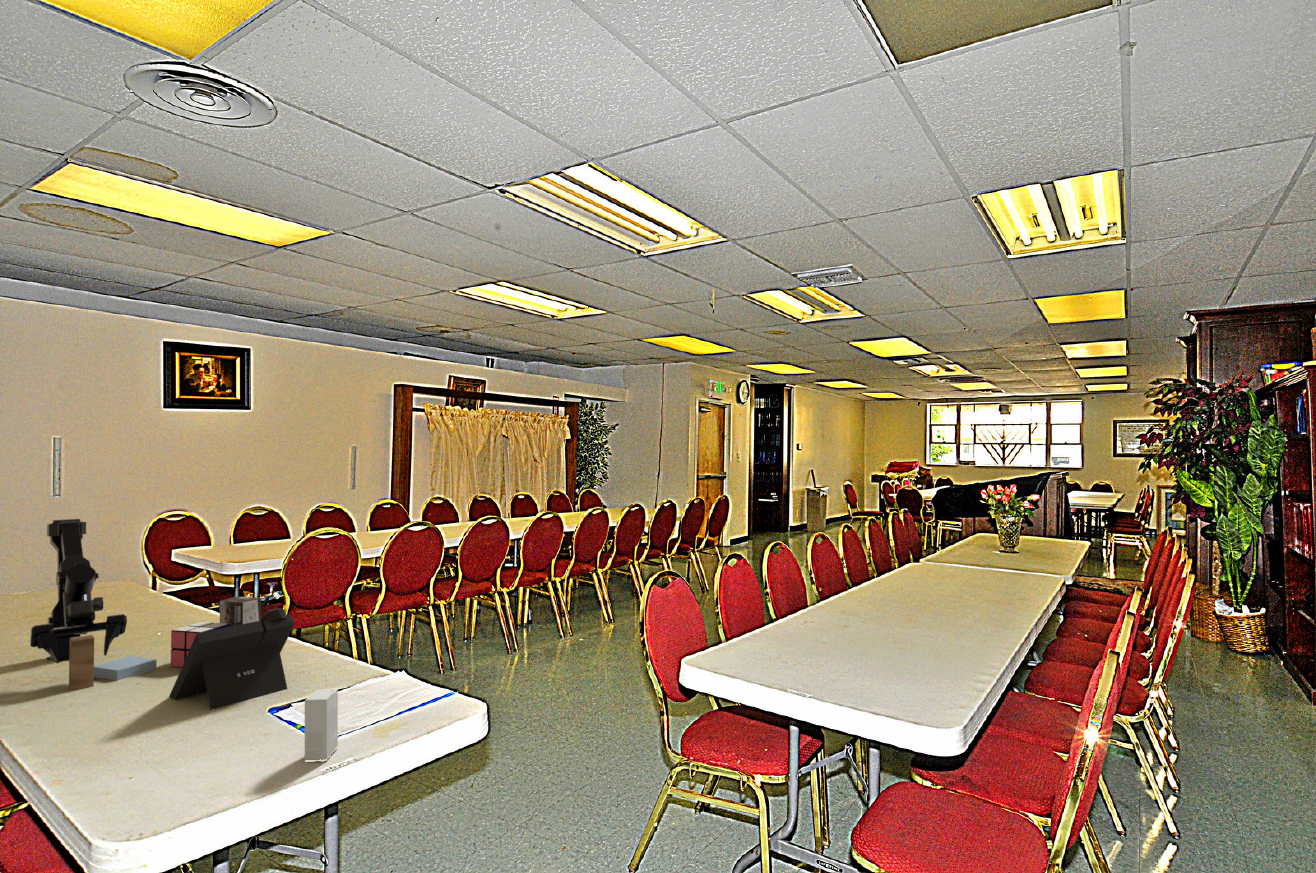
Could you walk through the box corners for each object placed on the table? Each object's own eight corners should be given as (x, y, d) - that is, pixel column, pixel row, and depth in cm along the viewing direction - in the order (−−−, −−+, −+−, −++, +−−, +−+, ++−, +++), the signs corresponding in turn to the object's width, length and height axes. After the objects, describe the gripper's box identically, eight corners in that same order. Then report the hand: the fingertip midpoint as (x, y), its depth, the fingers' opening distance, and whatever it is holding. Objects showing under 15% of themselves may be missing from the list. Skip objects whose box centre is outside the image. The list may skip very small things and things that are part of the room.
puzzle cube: (200, 669, 190) (201, 632, 190) (169, 667, 192) (170, 630, 192) (230, 658, 200) (230, 623, 200) (200, 656, 202) (200, 621, 202)
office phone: (270, 660, 199) (271, 588, 199) (325, 679, 183) (326, 601, 183) (149, 689, 175) (150, 607, 175) (200, 714, 159) (201, 624, 159)
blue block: (90, 677, 184) (90, 666, 184) (130, 666, 193) (130, 655, 193) (117, 682, 180) (117, 670, 181) (156, 670, 190) (156, 659, 190)
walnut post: (68, 686, 176) (69, 637, 176) (91, 681, 179) (92, 634, 179) (70, 690, 173) (71, 641, 173) (93, 686, 176) (94, 637, 176)
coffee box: (261, 653, 204) (262, 597, 205) (242, 659, 198) (242, 602, 199) (238, 650, 207) (238, 595, 208) (218, 656, 201) (218, 599, 202)
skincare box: (315, 749, 140) (316, 688, 140) (338, 748, 140) (338, 688, 140) (303, 763, 134) (303, 699, 134) (326, 762, 134) (327, 699, 134)
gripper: (31, 592, 173) (34, 647, 165) (126, 582, 186) (132, 632, 178) (29, 619, 178) (31, 673, 170) (121, 608, 191) (127, 657, 183)
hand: (82, 658), depth 175 cm, fingers open, 9 cm apart
